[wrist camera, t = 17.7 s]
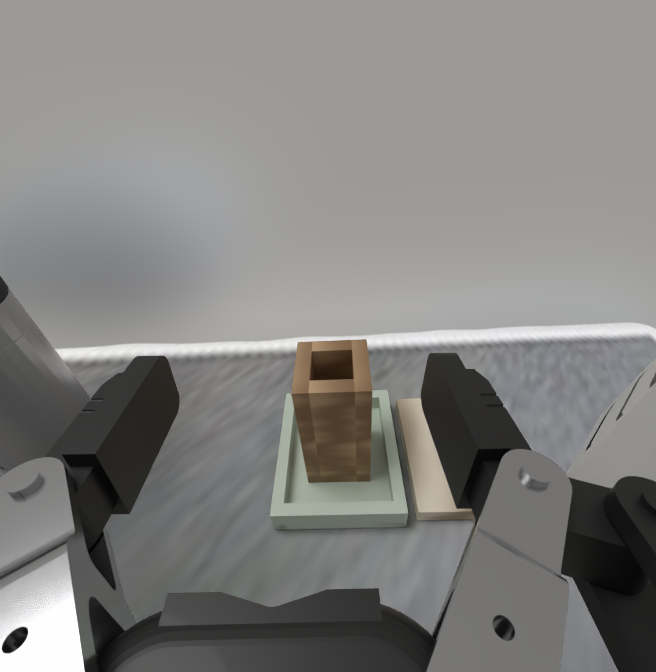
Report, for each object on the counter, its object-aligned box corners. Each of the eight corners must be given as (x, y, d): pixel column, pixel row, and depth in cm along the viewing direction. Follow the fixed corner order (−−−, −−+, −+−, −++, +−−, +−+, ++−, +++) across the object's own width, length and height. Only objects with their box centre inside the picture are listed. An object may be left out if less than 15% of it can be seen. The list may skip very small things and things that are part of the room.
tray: (274, 529, 29) (269, 516, 27) (289, 408, 39) (286, 393, 38) (405, 527, 28) (408, 513, 27) (386, 405, 39) (387, 389, 37)
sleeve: (308, 482, 31) (291, 393, 24) (311, 431, 36) (297, 342, 28) (370, 481, 31) (372, 391, 23) (365, 429, 35) (366, 339, 28)
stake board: (416, 520, 29) (428, 465, 24) (395, 408, 38) (401, 350, 33) (538, 518, 28) (578, 461, 23) (487, 405, 38) (507, 346, 32)
